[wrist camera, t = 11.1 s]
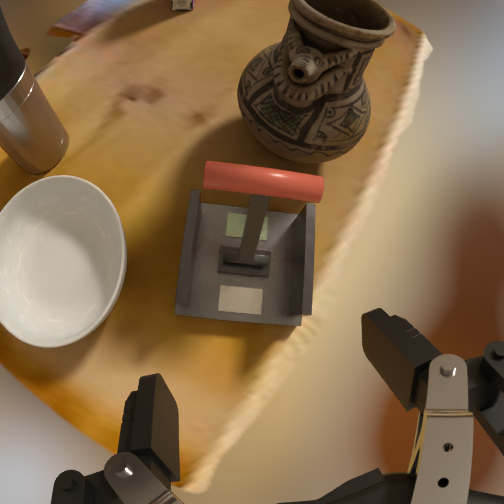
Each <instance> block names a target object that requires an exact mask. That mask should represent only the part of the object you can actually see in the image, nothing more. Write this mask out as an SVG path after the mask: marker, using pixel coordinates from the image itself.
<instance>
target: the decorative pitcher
mask: <svg viewBox="0 0 504 504" xmlns="http://www.w3.org/2000/svg"><path fill="white" fill-rule="evenodd" d="M288 9H289V12H290V14H291V15H290V20H289V24H288V27H287V31H286V33H285V35H284V37H283V39H282V41H281V42H278V43H276V44H273V45H271V46H269V47H267V48H266V49H264V50H262V51H261V52H260V53H258V54H257V55H256V56H255V57H254V58H253V59H252V60H251V61H250V62H249V63H248V65H247V66H246V68H245V69H244V71H243V73H242V75H241V78H240V81H239V85H238V91H237V96H238V103H239V108H240V111H241V114H242V116H243V119H244V121H245V123H246V125H247V127H248V128H249V130H250V131H251V133H252V134H253V135H254V137H255V138H256V139H257V140H258V141H259V142H260V143H261V144H262V145H263V146H264V147H266V148H267V149H268V150H270V151H271V152H273V153H274V154H276V155H278V156H281V157H283V158H285V159H288V160H291V161H295V162H299V163H306V164H313V163H322V162H327V161H330V160H333V159H336V158H338V157H340V156H342V155H344V154H345V153H347V152H348V151H350V150H351V149H352V148H353V147H354V146H355V145H356V144H357V143H358V142H359V141H360V139H361V138H362V137H363V135H364V133H365V132H366V130H367V127H368V125H369V120H370V112H371V104H370V96H369V92H368V89H367V86H366V83H365V81H364V78H363V72H364V70H365V69H366V67H367V65H368V63H369V61H370V59H371V56H372V54H373V52H374V50H375V48H378V47H380V46H381V45H382V44H383V43H384V42H385V39H386V38H388V37H390V36H391V35H393V33H394V32H395V29H396V23H395V20H394V18H393V16H392V15H391V14H390V13H389V12H388V11H387V10H386V9H385V8H384V7H383V6H382V5H380V4H379V3H378V2H377V1H375V0H290V2H289V6H288Z"/></svg>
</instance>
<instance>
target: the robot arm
mask: <svg viewBox="0 0 504 504" xmlns="http://www.w3.org/2000/svg"><path fill="white" fill-rule="evenodd" d="M68 139H69V138H68V134H67V132H66V130H65V128H64V127H63V125H62V123H61V122H60V120H59V118H58V117H57V115H56V113H55V112H54V110H53V108H52V107H51V105H50V103H49V102H48V100H47V98H46V97H45V95H44V93H43V91H42V90H41V88H40V86H39V85H38V83H37V81H36V79H35V77H34V76H33V74H32V72H31V70H30V68H29V67H28V65H27V63H26V61H25V59H24V57H23V55H22V54H21V52H20V50H19V48H18V47H17V45H16V43H15V41H14V39H13V37H12V35H11V33H10V31H9V28H8V26H7V23H6V21H5V18H4V15H3V12H2V10H1V7H0V147H1V148H2V149H3V150H4V151H5V152H6V153H7V154H8V155H9V156H10V157H11V158H12V159H13V160H14V161H15V162H16V163H17V164H18V165H19V166H22V167H23V168H24V169H25V170H26V171H27V172H28V173H31V174H41V173H44V172H46V171H48V170H49V169H51V168H52V167H54V166H55V165H56V164H57V163H58V162H59V161H60V160H61V158H62V157H63V155H64V154H65V151H66V149H67V146H68ZM361 320H362V321H361V322H362V346H363V350H364V353H365V355H366V357H367V358H368V360H369V361H370V362H371V364H372V365H373V366H374V368H375V369H376V370H377V372H378V373H379V374H380V375H381V377H382V378H383V379H384V381H385V382H386V384H387V385H388V386H389V388H390V389H391V390H392V392H393V393H394V394H395V396H396V397H397V398H398V400H399V401H400V402H401V404H402V405H403V407H404V408H405V409H406V411H409V410H411V409H412V408H415V407H417V408H418V409H419V411H420V412H419V417H418V423H417V430H416V436H415V442H414V447H413V453H412V457H411V461H410V464H409V468H408V472H407V473H402V472H396V473H386V474H381V472H380V470H379V468H377V469H375V470H372V471H370V472H368V473H365V474H363V475H361V476H358V477H356V478H353V479H351V480H349V481H347V482H345V483H344V484H342V485H341V486H339V487H337V488H336V489H334V490H333V491H331V492H329V493H328V494H326V495H325V496H323V497H321V498H319V499H317V500H311V501H301V502H288V503H278V504H504V496H499V495H493V494H488V493H484V492H479V491H475V490H470V489H469V483H470V474H471V463H472V448H473V415H474V417H475V418H476V419H477V420H478V422H479V423H480V424H481V426H482V427H483V428H484V430H485V431H486V432H487V434H488V435H489V436H490V438H491V439H492V441H493V442H494V443H495V444H496V446H497V447H498V449H499V450H500V451H501V453H502V454H503V456H504V395H503V394H502V392H503V393H504V342H502V341H494V342H491V343H489V344H488V345H487V346H486V347H485V349H484V352H483V355H482V356H479V357H475V358H471V359H468V360H462V359H461V358H460V357H458V356H456V355H452V354H444V355H443V354H442V353H441V352H440V351H439V350H438V349H437V348H436V347H434V346H433V345H432V344H431V343H430V342H429V341H428V340H427V339H426V338H425V337H424V336H423V335H422V334H420V332H419V331H418V330H417V329H415V328H414V327H413V326H412V325H411V324H410V323H409V322H408V321H407V320H406V319H403V318H401V317H398V316H396V315H393V316H391V317H390V316H389V315H388V314H387V313H386V312H385V311H383V309H381V308H377V309H375V310H372V311H370V312H367V313H364V314H363V315H362V318H361ZM122 421H123V423H122V424H121V431H120V437H119V444H118V452H117V454H115V455H114V456H112V457H111V458H110V459H109V460H108V461H107V463H106V464H105V467H104V470H102V471H99V472H96V473H94V474H91V475H88V476H83V475H82V474H81V473H80V472H78V471H76V470H67V471H64V472H62V473H61V474H60V475H59V476H58V477H57V478H56V480H55V483H54V487H53V493H52V500H51V504H184V503H183V502H182V501H181V500H180V499H179V498H178V497H177V496H176V495H174V493H172V492H171V482H176V481H180V462H179V418H178V408H177V404H176V401H175V399H174V397H173V396H172V394H171V392H170V390H169V389H168V387H167V385H166V383H165V381H164V379H163V378H162V376H161V375H160V374H159V373H157V374H152V375H147V376H142V377H140V379H139V385H138V391H132V392H131V393H130V395H129V397H128V398H127V400H126V401H125V406H124V414H123V418H122Z"/></svg>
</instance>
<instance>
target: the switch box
mask: <svg viewBox="0 0 504 504" xmlns="http://www.w3.org/2000/svg"><path fill="white" fill-rule="evenodd" d="M247 210H248V208H243V207H235V206H226V205H217V204H208V203H201V192H200V190H194V189H191V193H190V199H189V205H188V212H187V218H186V225H185V231H184V238H183V245H182V252H181V260H180V268H179V276H178V284H177V292H176V301H175V303H176V305H175V315H180V316H189V317H197V318H206V319H216V320H226V321H237V322H248V323H260V324H273V325H288V326H301V320H302V316H309V315H311V313H312V295H313V274H314V246H315V205H313V204H306V205H305V206H304V208H303V209H302V210H301V212H300V213H299V214H291V213H283V212H276V211H268V210H267V211H266V215H265V219H264V223H263V226H262V230H261V234H260V238H259V242H258V245H257V249H256V253H255V254H257V255H266V256H269V260H268V266H260V265H251V264H241V263H232V262H223V257H224V251H230V252H239V251H240V246H241V240H242V235H243V230H244V225H245V220H246V215H247Z"/></svg>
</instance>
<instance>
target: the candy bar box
mask: <svg viewBox="0 0 504 504" xmlns="http://www.w3.org/2000/svg"><path fill="white" fill-rule="evenodd" d="M194 2H195V0H172V11H179V10H193V6H194Z"/></svg>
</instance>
